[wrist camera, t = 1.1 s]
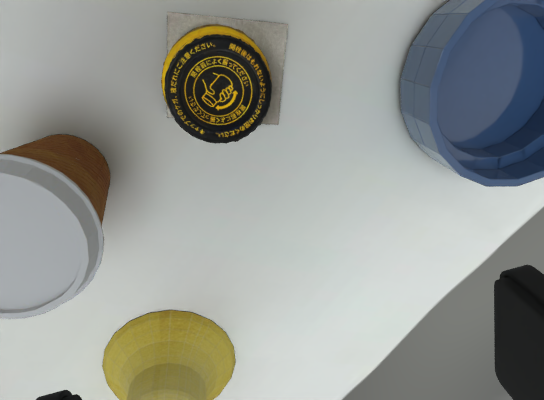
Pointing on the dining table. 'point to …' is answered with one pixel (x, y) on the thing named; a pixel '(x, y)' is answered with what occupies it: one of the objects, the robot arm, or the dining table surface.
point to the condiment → (223, 75)
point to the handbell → (169, 358)
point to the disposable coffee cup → (49, 223)
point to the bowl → (479, 90)
